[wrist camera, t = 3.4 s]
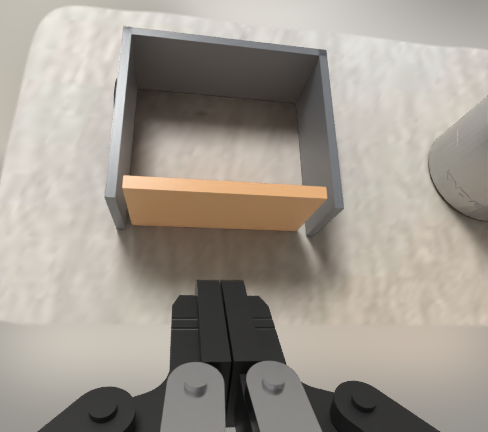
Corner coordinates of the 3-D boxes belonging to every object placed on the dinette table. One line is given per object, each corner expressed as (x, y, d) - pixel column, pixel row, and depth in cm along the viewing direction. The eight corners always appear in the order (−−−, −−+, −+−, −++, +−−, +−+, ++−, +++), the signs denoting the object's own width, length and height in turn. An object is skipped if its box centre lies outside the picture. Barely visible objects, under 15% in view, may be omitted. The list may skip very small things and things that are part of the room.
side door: (132, 214, 30) (123, 175, 23) (295, 221, 32) (326, 186, 25) (131, 224, 29) (122, 187, 23) (296, 231, 31) (327, 198, 25)
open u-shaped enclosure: (127, 81, 34) (118, 25, 28) (302, 98, 36) (326, 50, 31) (112, 228, 29) (99, 196, 24) (313, 235, 32) (343, 208, 26)
